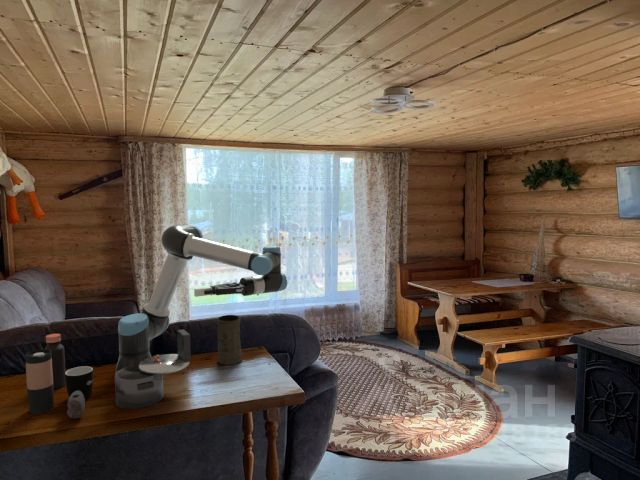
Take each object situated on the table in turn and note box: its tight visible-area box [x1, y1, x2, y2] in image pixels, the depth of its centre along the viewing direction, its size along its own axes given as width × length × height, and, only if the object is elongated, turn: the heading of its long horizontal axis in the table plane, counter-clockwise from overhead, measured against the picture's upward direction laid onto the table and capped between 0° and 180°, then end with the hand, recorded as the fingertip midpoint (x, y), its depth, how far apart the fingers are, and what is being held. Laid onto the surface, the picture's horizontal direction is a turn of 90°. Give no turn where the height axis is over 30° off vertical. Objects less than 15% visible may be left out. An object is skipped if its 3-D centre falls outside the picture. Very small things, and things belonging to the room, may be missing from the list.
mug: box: [65, 365, 94, 400], centre depth 164 cm, size 12×9×10 cm
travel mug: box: [25, 348, 55, 415], centre depth 153 cm, size 8×8×20 cm
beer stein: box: [216, 314, 243, 366], centre depth 202 cm, size 15×11×20 cm
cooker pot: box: [114, 364, 164, 410], centre depth 162 cm, size 20×16×10 cm
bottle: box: [44, 333, 66, 390], centre depth 173 cm, size 7×7×20 cm
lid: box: [139, 329, 192, 375], centre depth 166 cm, size 18×18×11 cm
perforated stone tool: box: [66, 390, 86, 420], centre depth 152 cm, size 15×5×7 cm, turn 24°
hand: (195, 292), depth 171 cm, fingers closed
